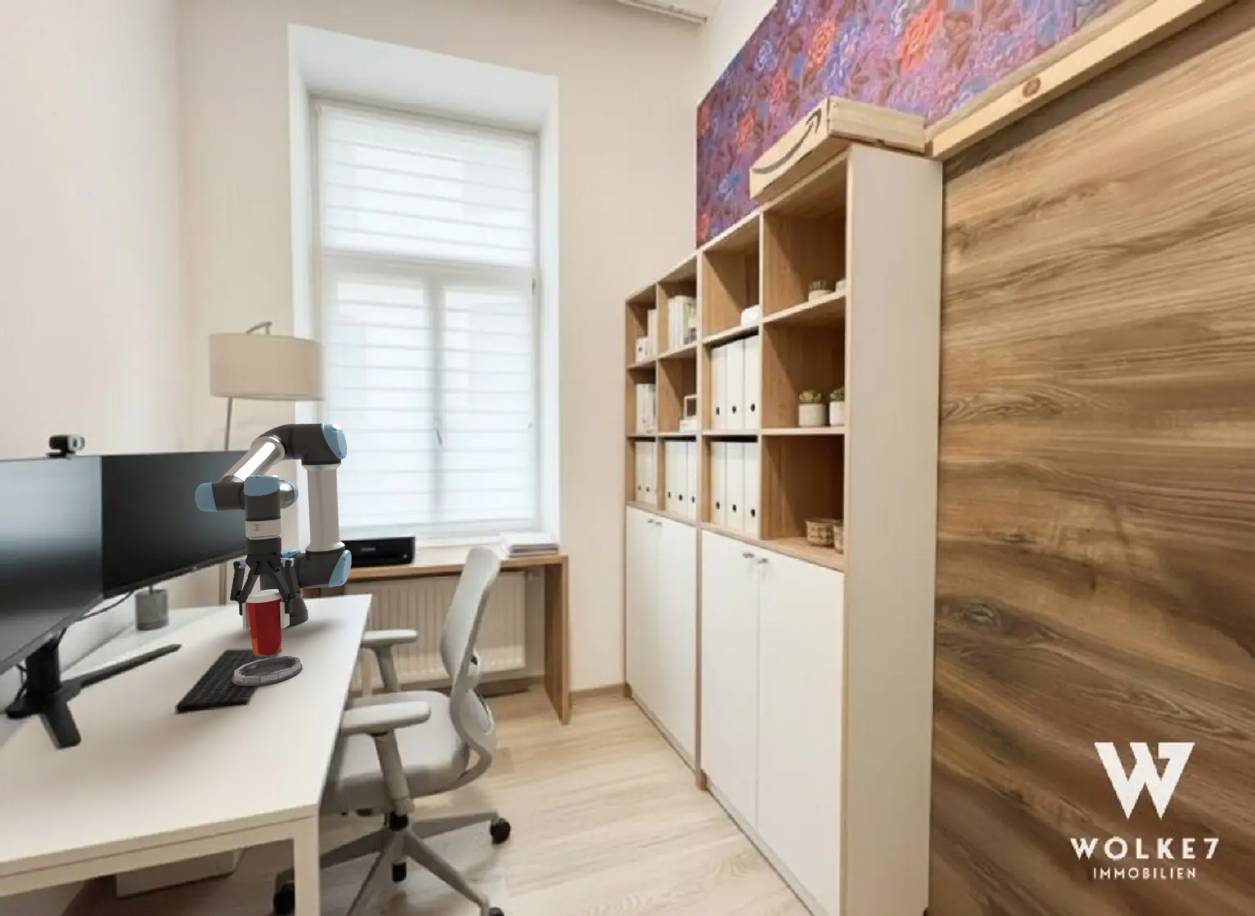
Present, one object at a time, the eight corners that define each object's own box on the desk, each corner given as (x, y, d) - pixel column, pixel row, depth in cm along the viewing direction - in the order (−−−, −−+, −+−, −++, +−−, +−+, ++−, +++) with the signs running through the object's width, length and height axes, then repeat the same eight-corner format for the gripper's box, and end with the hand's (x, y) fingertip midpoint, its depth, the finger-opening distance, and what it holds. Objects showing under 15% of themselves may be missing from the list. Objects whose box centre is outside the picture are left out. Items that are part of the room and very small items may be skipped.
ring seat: (254, 664, 152) (254, 656, 152) (313, 661, 153) (313, 654, 153) (217, 688, 137) (217, 680, 137) (283, 685, 138) (283, 677, 138)
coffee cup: (293, 646, 148) (292, 588, 148) (271, 658, 140) (268, 597, 140) (263, 646, 149) (261, 588, 149) (239, 658, 141) (236, 596, 140)
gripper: (209, 540, 139) (212, 633, 140) (300, 537, 141) (302, 630, 141) (228, 535, 147) (231, 624, 147) (314, 533, 148) (317, 621, 149)
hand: (266, 627), depth 144 cm, fingers closed on coffee cup, 8 cm apart
